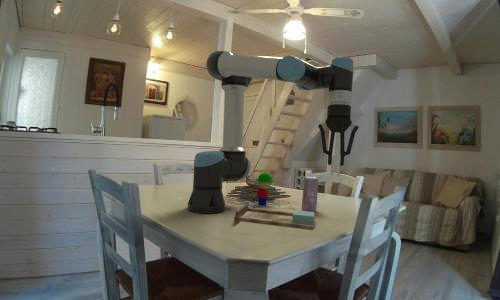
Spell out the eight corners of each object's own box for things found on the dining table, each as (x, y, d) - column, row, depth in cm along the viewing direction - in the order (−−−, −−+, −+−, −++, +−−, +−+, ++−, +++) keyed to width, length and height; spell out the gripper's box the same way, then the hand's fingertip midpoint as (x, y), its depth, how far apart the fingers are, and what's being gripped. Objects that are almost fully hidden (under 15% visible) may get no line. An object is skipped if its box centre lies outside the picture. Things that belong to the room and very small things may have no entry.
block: (292, 223, 99) (292, 214, 99) (294, 218, 106) (294, 209, 106) (313, 225, 97) (313, 216, 97) (313, 220, 104) (314, 212, 104)
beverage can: (315, 212, 124) (317, 176, 124) (317, 215, 119) (319, 178, 118) (301, 211, 125) (303, 175, 125) (302, 214, 119) (304, 177, 119)
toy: (267, 208, 126) (269, 173, 126) (251, 205, 130) (253, 172, 130) (275, 206, 133) (277, 172, 132) (260, 203, 137) (262, 171, 136)
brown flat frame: (234, 224, 99) (234, 212, 99) (246, 213, 115) (246, 203, 115) (312, 234, 93) (313, 221, 93) (314, 221, 109) (314, 210, 108)
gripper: (317, 102, 97) (312, 174, 97) (363, 103, 93) (358, 178, 94) (317, 106, 104) (313, 172, 104) (360, 107, 100) (356, 175, 101)
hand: (334, 175), depth 99 cm, fingers closed
